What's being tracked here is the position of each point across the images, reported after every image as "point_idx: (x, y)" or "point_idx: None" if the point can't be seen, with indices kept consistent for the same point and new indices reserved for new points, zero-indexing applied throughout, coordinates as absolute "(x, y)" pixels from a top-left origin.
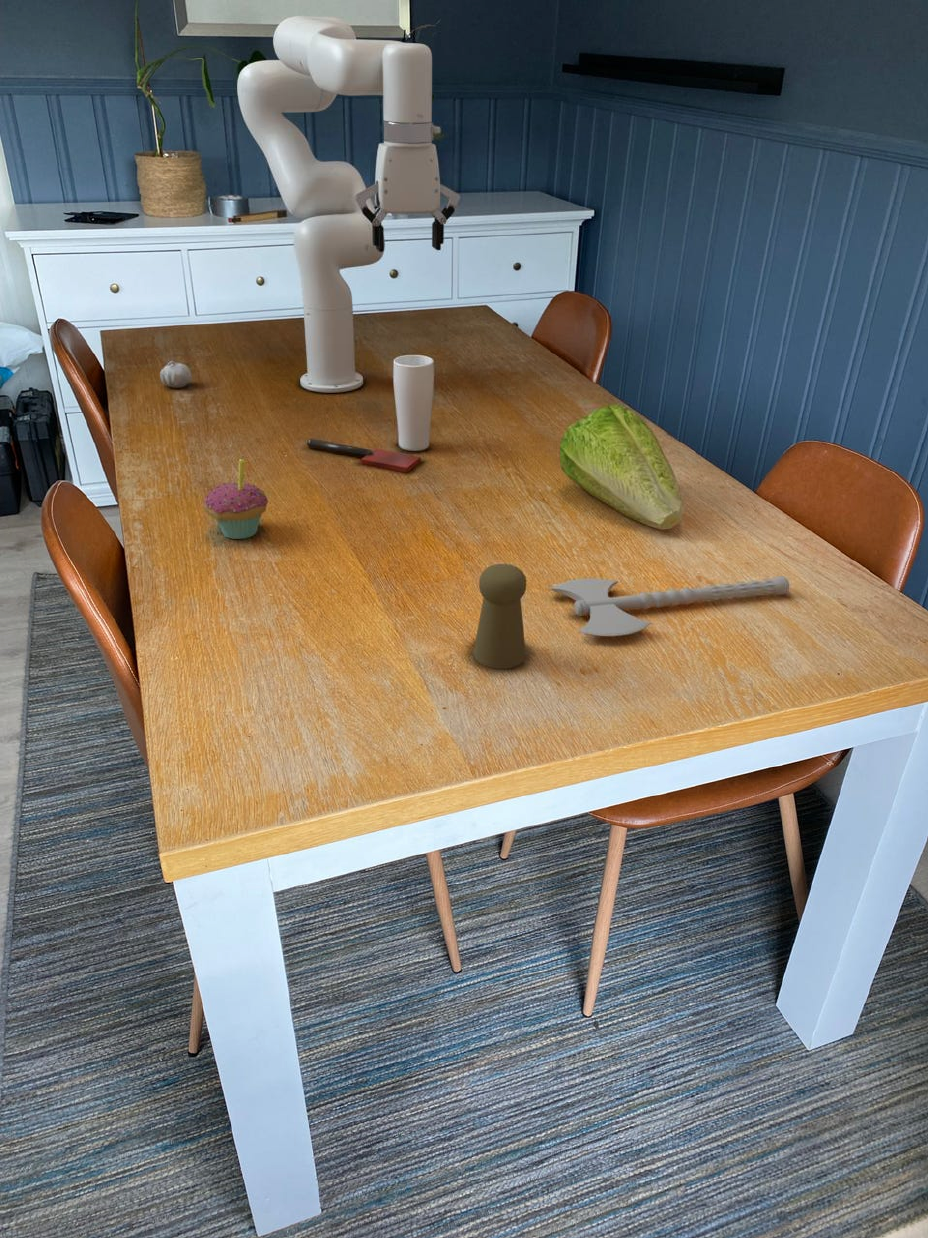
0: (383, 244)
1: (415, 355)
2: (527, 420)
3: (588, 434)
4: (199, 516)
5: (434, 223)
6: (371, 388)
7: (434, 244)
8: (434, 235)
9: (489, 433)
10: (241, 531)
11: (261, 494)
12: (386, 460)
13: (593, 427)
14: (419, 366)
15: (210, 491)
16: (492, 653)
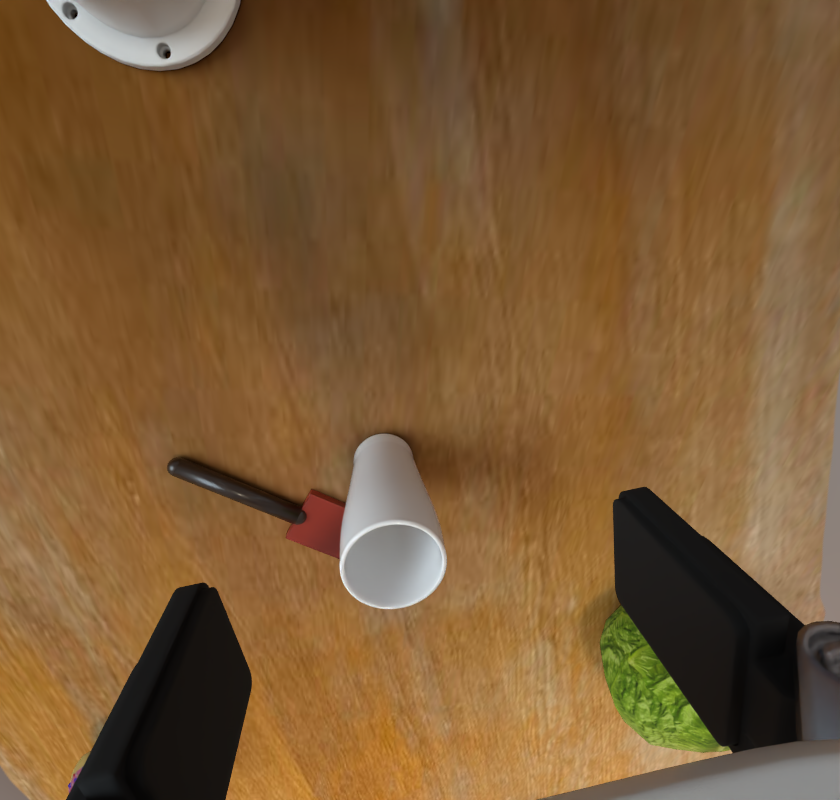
0: (240, 721)
1: (401, 524)
2: (631, 318)
3: (656, 738)
4: (63, 703)
5: (743, 659)
6: (274, 21)
7: (626, 570)
8: (664, 616)
9: (536, 390)
10: None
11: None
12: (331, 542)
13: (672, 737)
14: (406, 606)
15: (69, 787)
16: None
